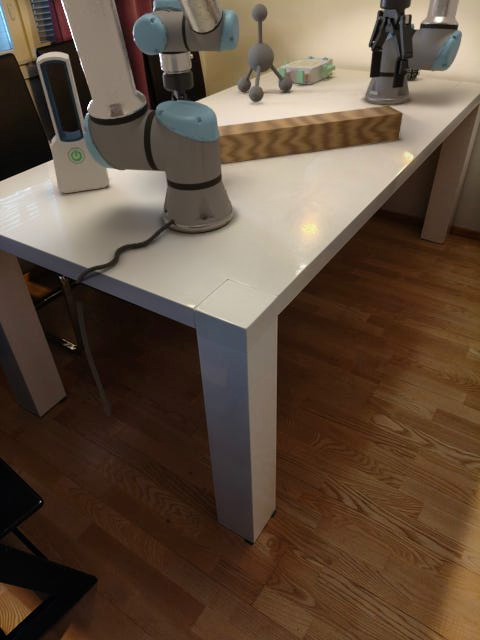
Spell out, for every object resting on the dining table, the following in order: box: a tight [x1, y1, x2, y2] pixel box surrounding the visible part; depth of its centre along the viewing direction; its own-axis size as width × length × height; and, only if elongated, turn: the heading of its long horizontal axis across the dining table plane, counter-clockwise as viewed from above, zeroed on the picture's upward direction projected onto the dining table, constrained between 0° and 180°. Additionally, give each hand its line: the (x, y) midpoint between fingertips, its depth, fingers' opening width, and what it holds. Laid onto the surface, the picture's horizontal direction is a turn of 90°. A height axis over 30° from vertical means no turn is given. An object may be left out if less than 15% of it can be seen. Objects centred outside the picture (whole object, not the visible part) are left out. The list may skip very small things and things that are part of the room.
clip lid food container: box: [277, 55, 336, 85], centre depth 206 cm, size 26×6×20 cm
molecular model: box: [237, 3, 293, 103], centre depth 180 cm, size 24×22×30 cm
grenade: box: [407, 69, 421, 81], centre depth 194 cm, size 7×6×10 cm
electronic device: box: [35, 51, 110, 194], centre depth 116 cm, size 12×8×30 cm, turn 105°
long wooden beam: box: [218, 105, 404, 165], centre depth 137 cm, size 66×8×7 cm, turn 104°
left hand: (187, 160), depth 135 cm, fingers closed on long wooden beam, 9 cm apart
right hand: (385, 82), depth 135 cm, fingers open, 13 cm apart
